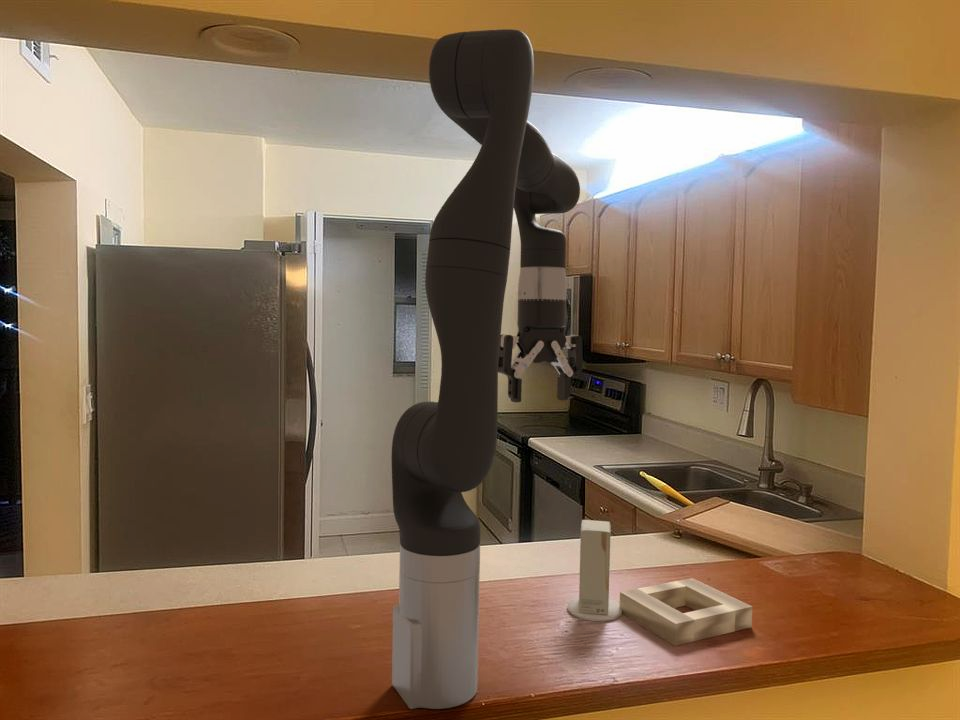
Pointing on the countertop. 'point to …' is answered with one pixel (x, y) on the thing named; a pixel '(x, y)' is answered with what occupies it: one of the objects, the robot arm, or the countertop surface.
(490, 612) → the countertop surface
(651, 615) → the pocket block
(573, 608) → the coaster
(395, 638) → the robot arm
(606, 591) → the skincare box
